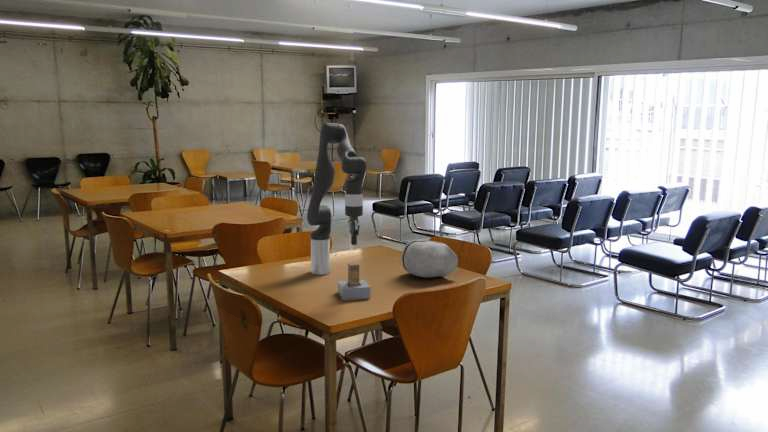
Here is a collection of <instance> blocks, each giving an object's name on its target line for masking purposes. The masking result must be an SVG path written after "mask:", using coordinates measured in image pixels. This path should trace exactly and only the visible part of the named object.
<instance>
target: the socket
mask: <svg viewBox="0 0 768 432" xmlns="http://www.w3.org/2000/svg"><path fill="white" fill-rule="evenodd" d="M337 293H338V295H339V296H340V298H341V301H353V300H368V299H369V300H370V299H371V286H370V285H369V284H368V282H367V281H366V279H359V286H348V280H337Z"/></svg>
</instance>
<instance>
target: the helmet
mask: <svg viewBox="0 0 768 432" xmlns="http://www.w3.org/2000/svg"><path fill="white" fill-rule="evenodd" d="M458 263H459V258H458V255H457V254H456V253H455V252H454V251H453V249H451V247H450V246H448V245H447V244H445V242H440V241H435V240H428V239H415V240H410V241H409V242H408V243H407V244H406V245H405V246H404V248H403V250H402V253H401V264H402V268H403V269H404V270H405V272H407V273H408V274H411V275H413V276H415V277H421V278H425V279H426V278H435V277H439V278H440V277H441V278H443V277H444V278H445V277H448V276H450V275H452V274H454V273H455V272H456V271H457V269H458Z"/></svg>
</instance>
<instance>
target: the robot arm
mask: <svg viewBox="0 0 768 432" xmlns="http://www.w3.org/2000/svg"><path fill="white" fill-rule="evenodd" d="M328 144H337V147H336V153H337V156H338V157H339V159H340V162H341V171H342V172H343V173H344V174H347V175H353V174H354V175H355V177H354V178H351V179H347V180H346V181H345V197H344V214H345V216H346V217H349V219H348V229H349V234H350V244H351V245H352V246H357V244H358V241H357V240H358V236H359V233H360V228H361V227H360V220H359V217H361V216H363V213H364V212H363V211H364V203H363V202H364V197H363V183H364V178H365V174H366V171H367V165H368V164H367V161H366V159H365V158H364V157H363V156H357V153H356V151H355V149H354V148H353V146H352V144H351V141H350V138H349V135H348V132H347V129H346V126H345V125H344V124H341V123H337V122H335V123H334V122H324V123H322V124H321V127H320V133H319V144H318V154H317V160H316V164H315V172H314V178H313V185H312V190H311V196H310V200H309V204H308V207H307V213H306V221H307V223H308V224H309V226H319V227H318V228H316V229H315V230H313V231H312V232H311V233H310V273H311V274H312V275H317V276H318V275H319V276H320V275H321V276H322V275H328V274H331V271H330V270H331V265H330V264H331V260H330V259H331V255H330V254H331V251H330V250H331V246H330V245H331V242H330V241H331V232H332V211H331V208H330V207H329V206H328V205H321V203H322V201H323V199H324V198H325V196H326V194H327V193H328V192H329V191H330V189H331V188H332V187H333V184H334V181H335V177H336V176H335V175H336V167H335V165H334V163H333V161H332V158H331V157H330V154H329V151H328V146H329V145H328Z"/></svg>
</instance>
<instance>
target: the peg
mask: <svg viewBox="0 0 768 432" xmlns="http://www.w3.org/2000/svg"><path fill="white" fill-rule="evenodd" d="M359 280H360V264H359V262H348V263H347V281H348V286H359Z"/></svg>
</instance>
